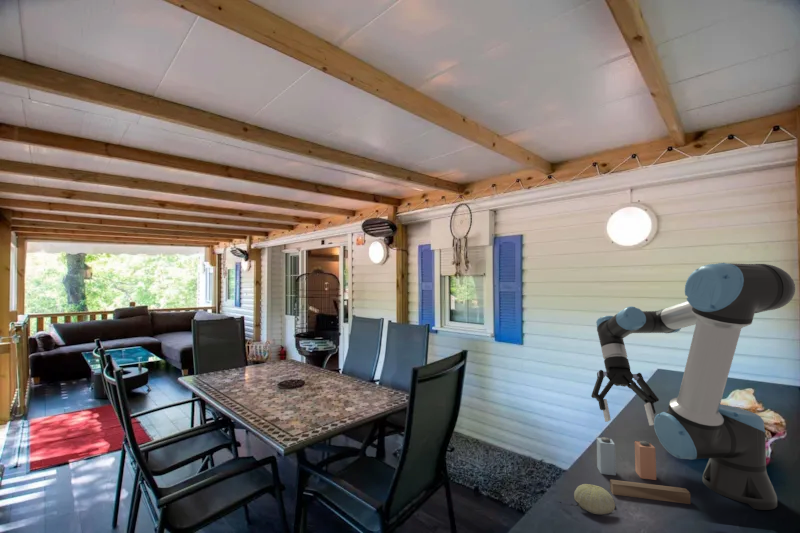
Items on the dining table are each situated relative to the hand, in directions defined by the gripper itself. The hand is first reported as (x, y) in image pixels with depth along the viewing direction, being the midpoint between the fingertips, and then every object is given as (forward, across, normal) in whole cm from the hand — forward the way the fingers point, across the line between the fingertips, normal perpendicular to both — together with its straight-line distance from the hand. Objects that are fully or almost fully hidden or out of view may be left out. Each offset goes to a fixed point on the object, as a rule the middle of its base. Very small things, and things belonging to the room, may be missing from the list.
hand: (630, 422), depth 118 cm
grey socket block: (+15, +10, +1) cm, 18 cm away
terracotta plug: (+15, 0, +2) cm, 15 cm away
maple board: (+19, +4, +5) cm, 20 cm away
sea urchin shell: (+25, +20, +14) cm, 35 cm away
